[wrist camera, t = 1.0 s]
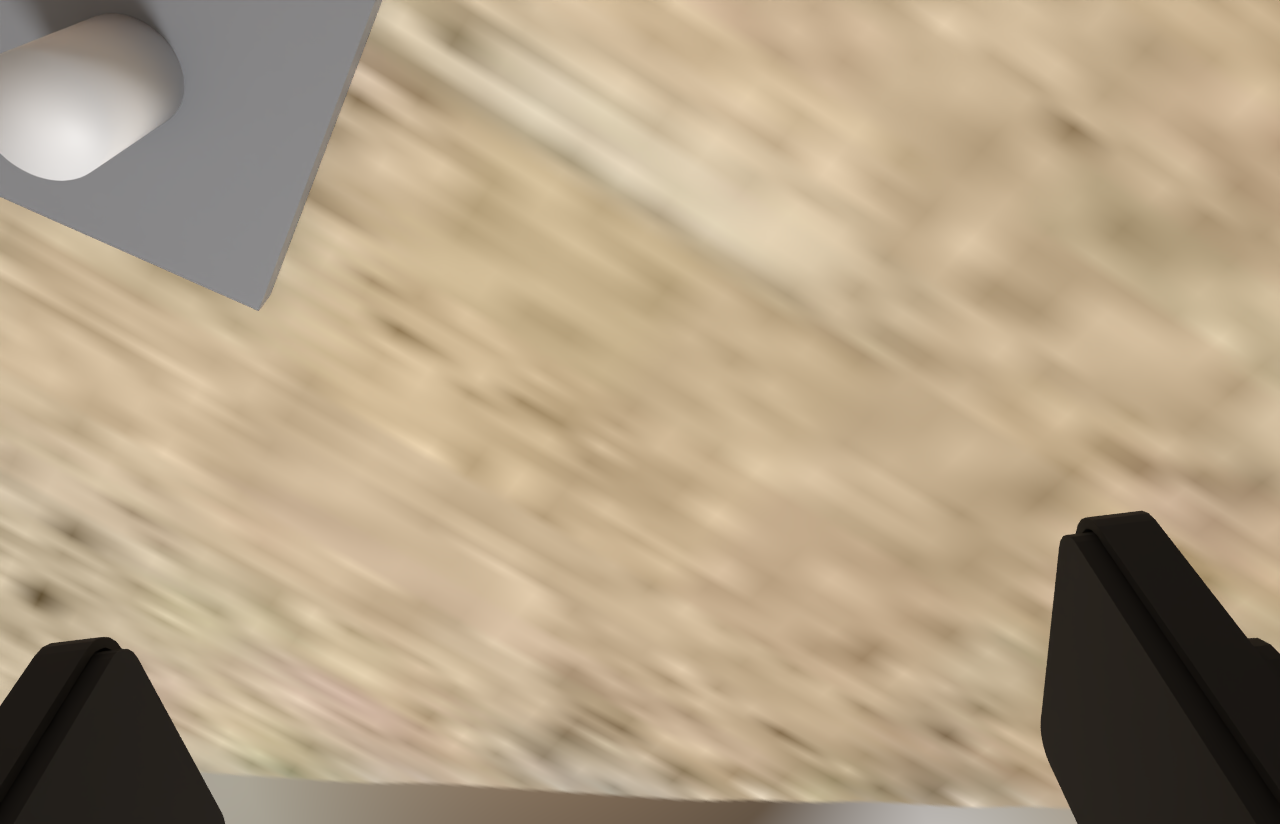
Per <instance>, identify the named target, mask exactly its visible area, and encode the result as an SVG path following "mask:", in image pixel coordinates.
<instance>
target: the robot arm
mask: <svg viewBox="0 0 1280 824" xmlns="http://www.w3.org/2000/svg"><path fill="white" fill-rule="evenodd" d="M1041 736H1042V741H1043V746H1044V749H1045V753H1046V756H1047V758H1048V761H1049V763H1050V766H1051V768H1052V770H1053V772H1054V774H1055V776H1056V778H1057V781H1058V783H1059V785H1060V787H1061V789H1062V791H1063V793H1064V796H1065V798H1066V800H1067V802H1068V804H1069V806H1070V808H1071V811H1072V813H1073V815H1074V817H1075V819H1076V821H1077V824H1280V653H1279V652H1278V651H1277V650H1276V649H1275V648H1274V647H1273V646H1272V645H1270V644H1268V643H1266V642H1265V641H1263V640H1261V639H1259V638H1247V637H1246V636H1245V634H1244V633H1243V632H1242V631H1241V629H1240V628H1239V627H1238V625H1237V624H1236V623H1235V622H1234V620H1233V619H1232V618H1231V616H1230V615H1229V614H1228V613H1227V611H1226V610H1225V609H1224V607H1223V606H1222V605H1221V604H1220V602H1219V601H1218V600H1217V598H1216V597H1215V596H1214V595H1213V593H1212V592H1211V591H1210V589H1209V588H1208V587H1207V586H1206V584H1205V583H1204V582H1203V580H1202V579H1201V578H1200V577H1199V575H1198V574H1197V573H1196V572H1195V570H1194V569H1193V568H1192V566H1191V565H1190V564H1189V563H1188V561H1187V560H1186V559H1185V557H1184V556H1183V555H1182V554H1181V552H1180V551H1179V550H1178V548H1177V547H1176V546H1175V545H1174V543H1173V542H1172V541H1171V539H1170V538H1169V537H1168V536H1167V534H1166V533H1165V532H1164V530H1163V529H1162V528H1161V527H1160V525H1159V524H1158V523H1157V521H1156V520H1155V519H1154V518H1153V517H1152V516H1151V515H1150V514H1149V513H1147V512H1144V511H1136V512H1128V513H1119V514H1111V515H1103V516H1095V517H1087V518H1084V519H1081V521H1080V522H1079V524H1078V526H1077V531H1076V534H1071V535H1065V536H1063V537H1062V539H1061V541H1060V546H1059V554H1058V563H1057V573H1056V582H1055V592H1054V601H1053V611H1052V620H1051V629H1050V639H1049V648H1048V658H1047V667H1046V677H1045V686H1044V696H1043V705H1042V714H1041ZM0 824H225V821H224V818H223V815H222V812H221V811H220V809H219V807H218V805H217V803H216V802H215V800H214V798H213V796H212V794H211V792H210V790H209V789H208V787H207V785H206V783H205V781H204V779H203V777H202V776H201V774H200V772H199V770H198V768H197V766H196V765H195V763H194V761H193V759H192V757H191V755H190V753H189V752H188V750H187V748H186V746H185V744H184V742H183V741H182V739H181V737H180V735H179V733H178V731H177V730H176V728H175V726H174V724H173V722H172V720H171V718H170V717H169V715H168V713H167V711H166V709H165V707H164V706H163V704H162V702H161V700H160V698H159V696H158V695H157V693H156V691H155V689H154V687H153V685H152V683H151V682H150V680H149V678H148V676H147V674H146V672H145V671H144V669H143V667H142V665H141V663H140V661H139V660H138V658H137V656H136V655H135V654H134V652H132V651H130V650H129V649H122V648H121V647H120V646H119V644H118V643H117V642H116V641H114V640H113V639H111V638H109V637H99V638H90V639H82V640H74V641H66V642H57V643H51V644H48V645H46V646H44V647H42V648H41V650H40V651H39V652H38V653H37V654H36V655H35V656H34V658H33V659H32V661H31V662H30V664H29V665H28V666H27V668H26V669H25V671H24V672H23V674H22V675H21V677H20V678H19V680H18V681H17V682H16V684H15V685H14V687H13V688H12V690H11V691H10V693H9V694H8V695H7V697H6V698H5V700H4V701H3V703H2V704H1V706H0Z"/></svg>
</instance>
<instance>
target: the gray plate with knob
mask: <svg viewBox="0 0 1280 824" xmlns="http://www.w3.org/2000/svg"><path fill="white" fill-rule="evenodd" d="M381 2H382V0H0V197H2V198H4V199H6V200H8V201H11V202H13V203H15V204H17V205H20V206H22V207H24V208H27V209H29V210H31V211H33V212H36V213H38V214H40V215H42V216H45V217H47V218H49V219H51V220H54V221H56V222H58V223H61V224H63V225H65V226H67V227H70V228H72V229H74V230H76V231H79V232H81V233H83V234H85V235H88V236H90V237H92V238H95V239H97V240H99V241H101V242H104V243H106V244H108V245H110V246H113V247H115V248H117V249H119V250H122V251H124V252H126V253H128V254H131V255H133V256H135V257H138V258H140V259H142V260H144V261H147V262H149V263H151V264H153V265H156V266H158V267H160V268H162V269H165V270H167V271H169V272H172V273H174V274H176V275H178V276H181V277H183V278H185V279H187V280H190V281H192V282H194V283H196V284H199V285H201V286H203V287H205V288H208V289H210V290H212V291H215V292H217V293H219V294H221V295H224V296H226V297H228V298H230V299H233V300H235V301H237V302H239V303H242V304H244V305H246V306H249V307H251V308H253V309H255V310H258V311H259V310H260V308H261V307H262V306H263V304H264V303H265V302H266V300H267V299H268V298H269V296H270V294H271V292H272V289H273V287H274V284H275V281H276V279H277V276H278V273H279V271H280V268H281V265H282V263H283V260H284V258H285V255H286V252H287V250H288V247H289V244H290V242H291V239H292V236H293V234H294V231H295V229H296V226H297V223H298V221H299V218H300V215H301V213H302V210H303V207H304V205H305V202H306V200H307V197H308V194H309V192H310V189H311V186H312V184H313V181H314V179H315V176H316V173H317V171H318V168H319V165H320V163H321V160H322V157H323V155H324V152H325V150H326V147H327V144H328V142H329V139H330V136H331V134H332V131H333V128H334V126H335V123H336V121H337V118H338V115H339V113H340V110H341V107H342V105H343V102H344V99H345V97H346V94H347V92H348V89H349V86H350V84H351V81H352V78H353V76H354V73H355V70H356V68H357V65H358V63H359V60H360V57H361V55H362V52H363V49H364V47H365V44H366V42H367V39H368V36H369V34H370V31H371V28H372V26H373V23H374V20H375V18H376V15H377V13H378V10H379V7H380V5H381Z"/></svg>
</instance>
